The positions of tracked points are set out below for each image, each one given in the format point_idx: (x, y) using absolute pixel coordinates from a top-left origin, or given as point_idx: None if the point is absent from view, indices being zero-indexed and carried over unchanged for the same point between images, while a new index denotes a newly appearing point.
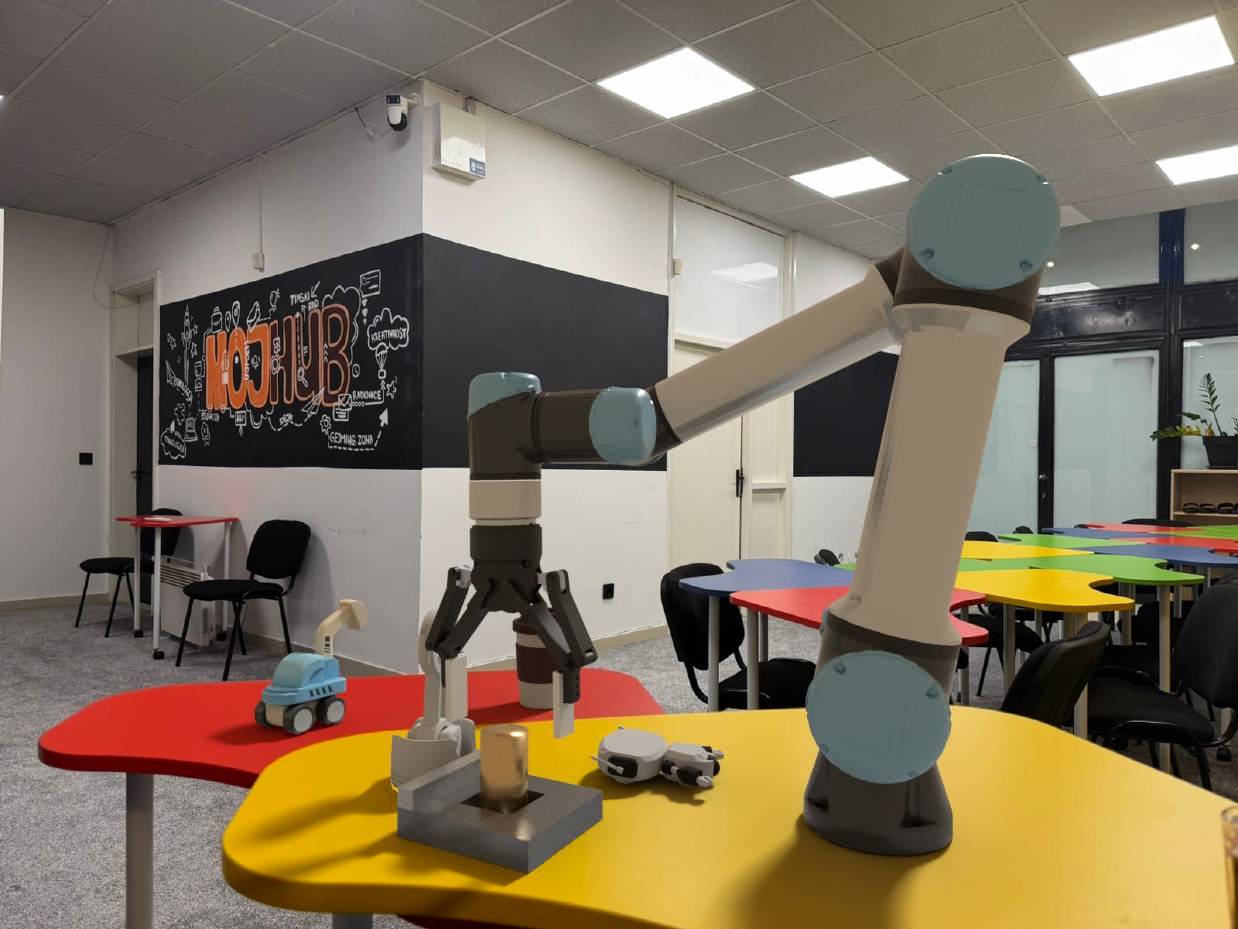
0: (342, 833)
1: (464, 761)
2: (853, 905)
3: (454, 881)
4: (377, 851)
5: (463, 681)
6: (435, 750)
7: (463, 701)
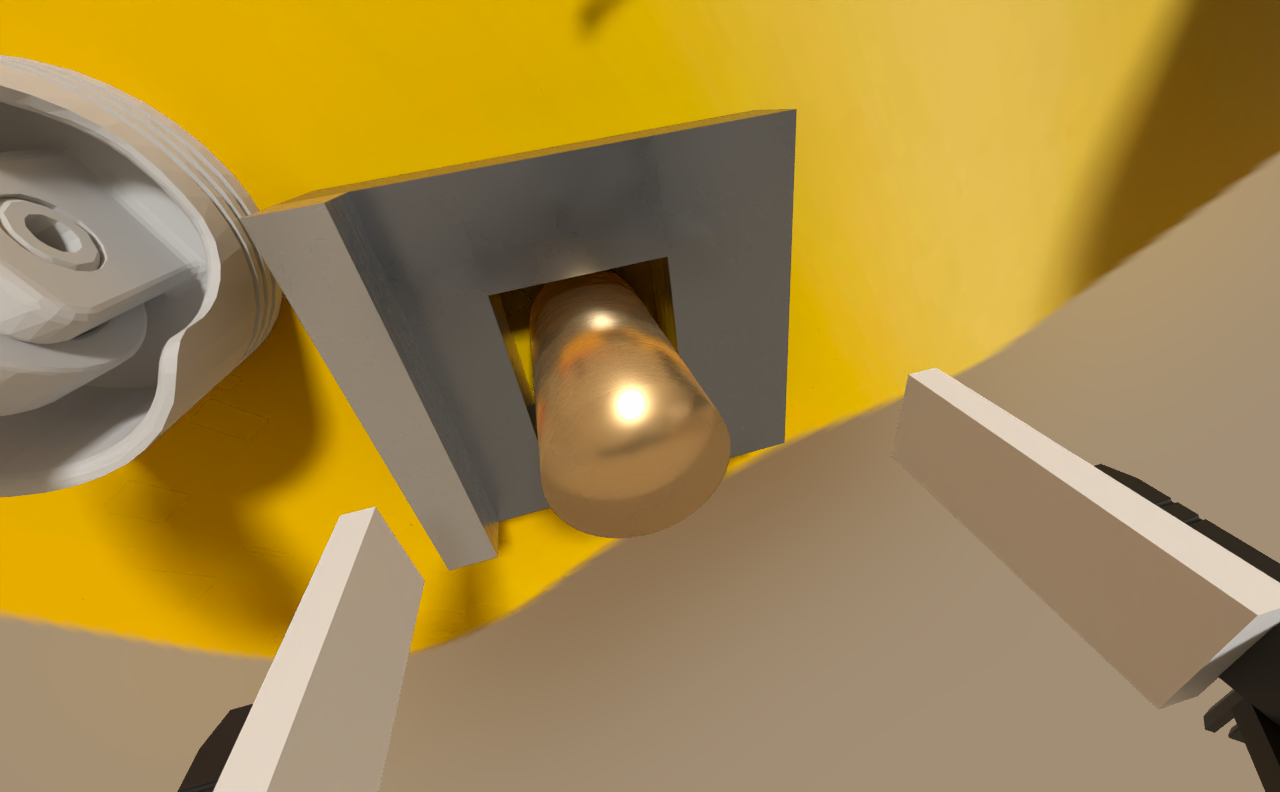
0: None
1: (373, 371)
2: (1262, 131)
3: None
4: None
5: (325, 709)
6: (192, 397)
7: (367, 592)
